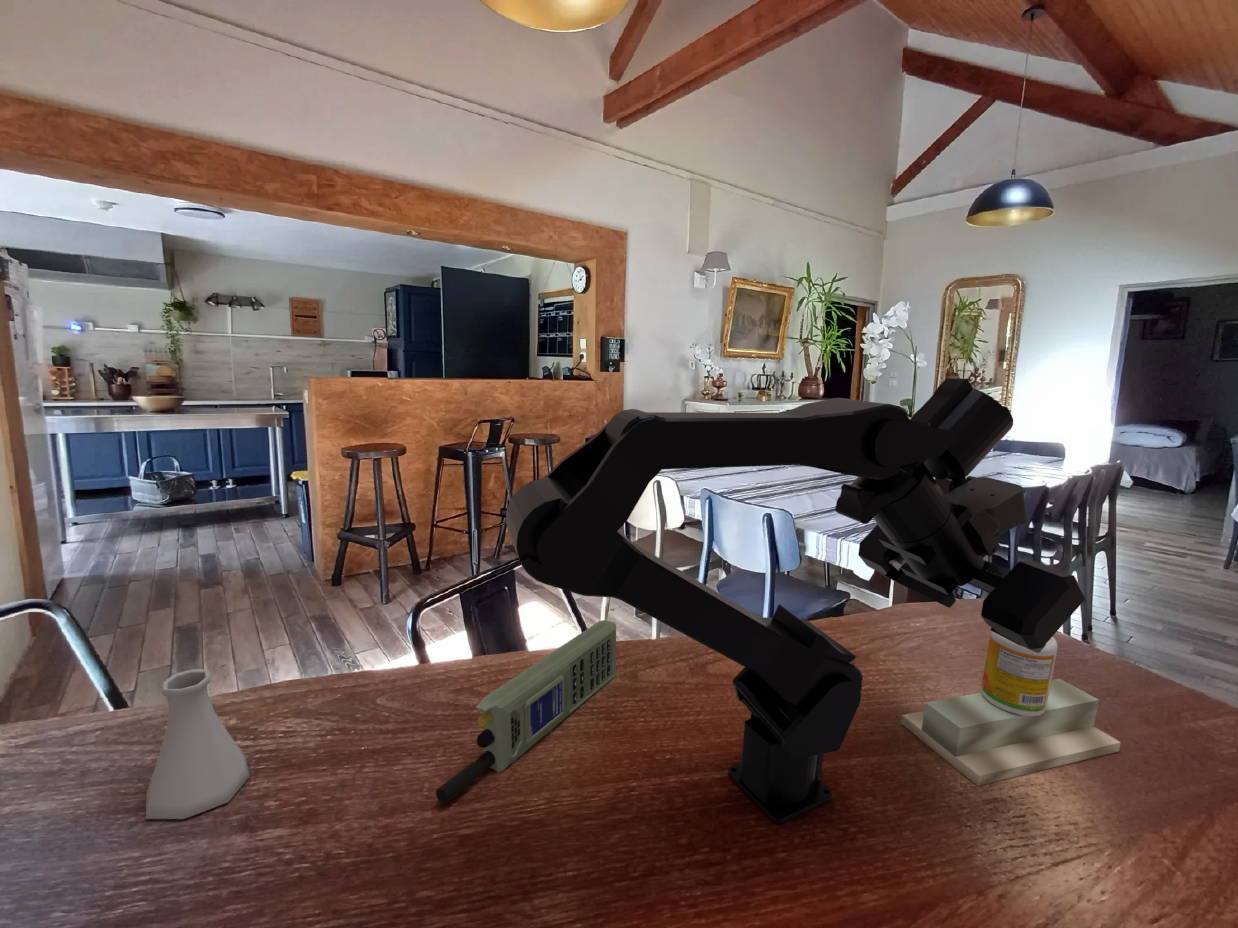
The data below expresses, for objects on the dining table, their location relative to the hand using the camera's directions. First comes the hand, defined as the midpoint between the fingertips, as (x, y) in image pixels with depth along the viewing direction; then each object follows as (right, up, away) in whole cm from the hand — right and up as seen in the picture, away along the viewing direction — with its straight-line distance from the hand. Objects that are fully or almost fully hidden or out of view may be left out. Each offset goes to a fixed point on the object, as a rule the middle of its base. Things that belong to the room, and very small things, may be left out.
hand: (992, 624), depth 54 cm
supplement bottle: (+4, -9, +3) cm, 10 cm away
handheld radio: (-43, -11, +3) cm, 45 cm away
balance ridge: (+4, -12, +4) cm, 14 cm away
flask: (-70, -12, -7) cm, 71 cm away
